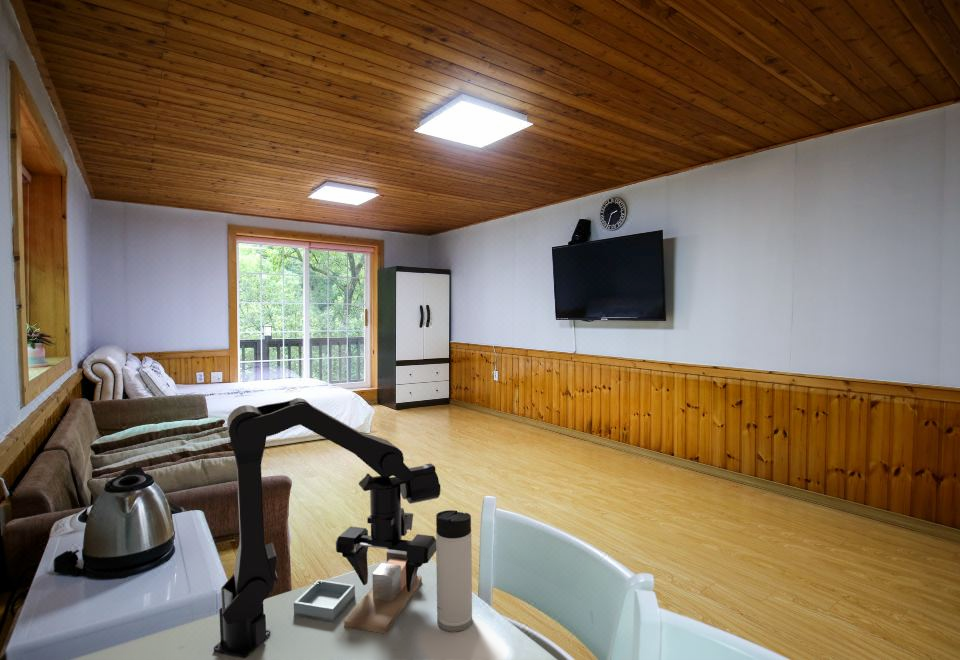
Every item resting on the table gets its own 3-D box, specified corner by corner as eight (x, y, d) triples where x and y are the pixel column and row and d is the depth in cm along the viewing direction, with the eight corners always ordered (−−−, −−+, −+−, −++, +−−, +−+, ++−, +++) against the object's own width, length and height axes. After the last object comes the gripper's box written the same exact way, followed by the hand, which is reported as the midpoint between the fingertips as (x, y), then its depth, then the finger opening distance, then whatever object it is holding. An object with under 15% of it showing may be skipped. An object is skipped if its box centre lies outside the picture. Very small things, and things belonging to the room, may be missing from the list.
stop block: (382, 587, 101) (381, 568, 100) (390, 577, 104) (390, 558, 104) (401, 590, 100) (400, 570, 99) (409, 579, 103) (408, 560, 103)
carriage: (373, 599, 97) (372, 573, 96) (382, 587, 101) (381, 562, 100) (392, 602, 96) (392, 576, 95) (401, 590, 100) (400, 565, 99)
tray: (294, 615, 93) (293, 602, 93) (318, 591, 101) (318, 579, 101) (333, 622, 91) (332, 609, 91) (355, 597, 99) (354, 584, 99)
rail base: (344, 626, 90) (343, 593, 90) (385, 576, 107) (385, 548, 106) (385, 633, 88) (385, 600, 88) (421, 581, 105) (421, 552, 104)
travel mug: (429, 627, 90) (427, 516, 89) (448, 607, 96) (447, 502, 95) (460, 637, 87) (459, 523, 86) (478, 616, 93) (477, 509, 92)
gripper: (445, 496, 103) (446, 571, 103) (361, 488, 107) (363, 560, 108) (426, 519, 92) (427, 603, 93) (333, 509, 97) (335, 589, 97)
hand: (387, 587), depth 98 cm, fingers open, 9 cm apart
